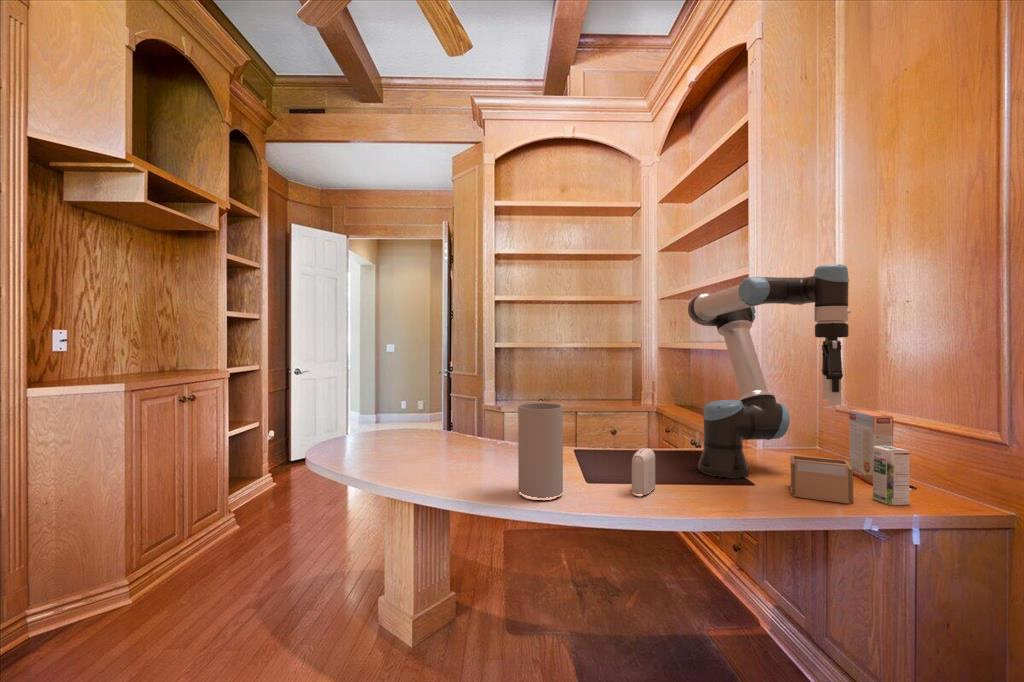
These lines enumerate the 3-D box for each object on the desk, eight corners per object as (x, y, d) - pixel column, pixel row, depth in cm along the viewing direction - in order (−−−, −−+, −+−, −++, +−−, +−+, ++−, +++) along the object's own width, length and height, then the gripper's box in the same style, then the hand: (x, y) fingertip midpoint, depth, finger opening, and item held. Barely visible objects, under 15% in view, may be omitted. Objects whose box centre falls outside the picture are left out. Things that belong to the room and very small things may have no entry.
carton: (791, 495, 132) (791, 463, 132) (790, 485, 142) (790, 455, 142) (853, 503, 126) (853, 469, 126) (847, 492, 135) (847, 460, 135)
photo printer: (642, 486, 141) (642, 444, 141) (657, 489, 139) (657, 446, 139) (629, 495, 133) (629, 451, 133) (644, 498, 130) (644, 453, 130)
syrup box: (871, 498, 129) (871, 445, 129) (891, 498, 130) (891, 445, 130) (890, 506, 124) (889, 450, 124) (910, 505, 124) (910, 449, 124)
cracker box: (895, 486, 140) (894, 415, 140) (872, 485, 141) (871, 415, 141) (869, 473, 154) (869, 409, 154) (848, 472, 155) (848, 408, 155)
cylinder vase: (556, 504, 126) (556, 410, 126) (512, 499, 130) (511, 407, 130) (567, 490, 137) (567, 404, 137) (526, 486, 142) (526, 402, 142)
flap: (795, 496, 130) (795, 460, 130) (795, 495, 132) (795, 459, 132) (848, 503, 125) (848, 465, 125) (847, 502, 126) (847, 464, 126)
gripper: (856, 320, 115) (856, 408, 115) (841, 324, 137) (841, 397, 137) (819, 321, 118) (819, 406, 118) (810, 324, 140) (811, 396, 140)
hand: (831, 402), depth 127 cm, fingers open, 13 cm apart
